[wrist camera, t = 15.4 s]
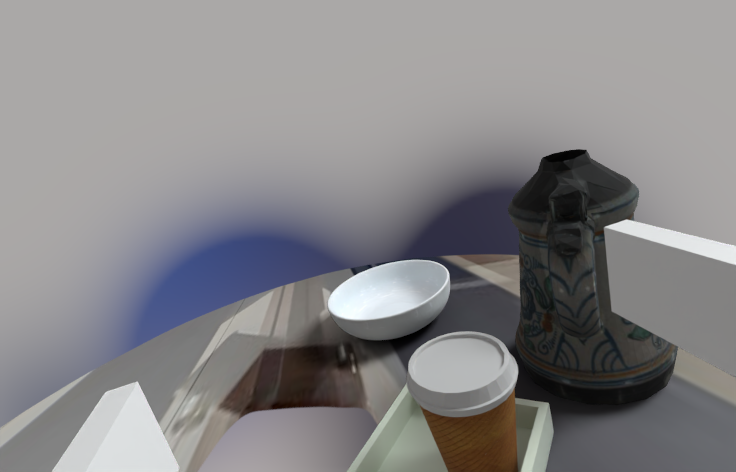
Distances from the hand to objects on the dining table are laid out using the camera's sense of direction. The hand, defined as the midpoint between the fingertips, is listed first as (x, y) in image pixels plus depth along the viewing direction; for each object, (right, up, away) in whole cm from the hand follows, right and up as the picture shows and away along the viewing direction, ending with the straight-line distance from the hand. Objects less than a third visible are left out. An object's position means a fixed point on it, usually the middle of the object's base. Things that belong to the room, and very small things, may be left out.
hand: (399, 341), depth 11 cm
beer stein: (+26, -12, +37) cm, 47 cm away
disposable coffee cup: (+10, -19, +27) cm, 35 cm away
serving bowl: (+4, -12, +60) cm, 61 cm away
